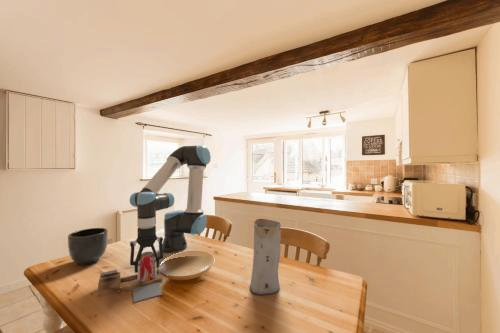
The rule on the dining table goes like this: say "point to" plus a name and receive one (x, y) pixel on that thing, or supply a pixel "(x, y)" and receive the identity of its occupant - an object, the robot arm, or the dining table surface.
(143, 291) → the mat
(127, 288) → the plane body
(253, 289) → the vase
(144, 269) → the beverage can
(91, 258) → the planter
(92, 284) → the dining table surface
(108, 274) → the blue-grey rectangular panel
